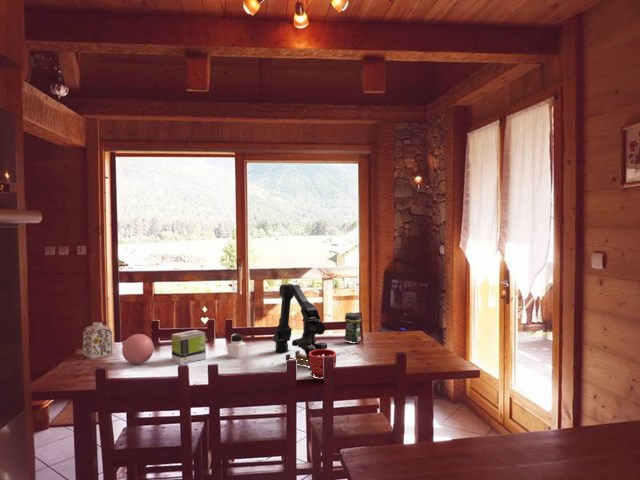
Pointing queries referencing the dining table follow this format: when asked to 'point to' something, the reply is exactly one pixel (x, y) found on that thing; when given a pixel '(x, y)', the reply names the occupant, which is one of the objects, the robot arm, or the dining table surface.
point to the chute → (299, 358)
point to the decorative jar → (97, 341)
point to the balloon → (137, 349)
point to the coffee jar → (352, 327)
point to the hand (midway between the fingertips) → (309, 360)
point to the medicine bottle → (236, 347)
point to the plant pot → (319, 361)
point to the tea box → (188, 346)
